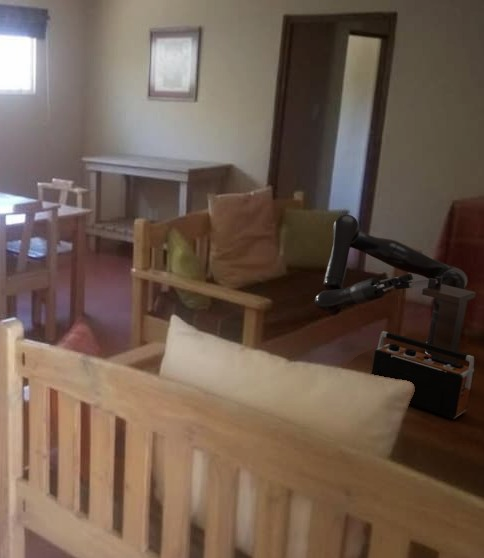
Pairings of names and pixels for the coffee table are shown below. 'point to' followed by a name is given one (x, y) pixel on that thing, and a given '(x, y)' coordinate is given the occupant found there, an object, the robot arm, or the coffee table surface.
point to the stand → (448, 315)
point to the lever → (412, 284)
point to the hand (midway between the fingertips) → (411, 276)
